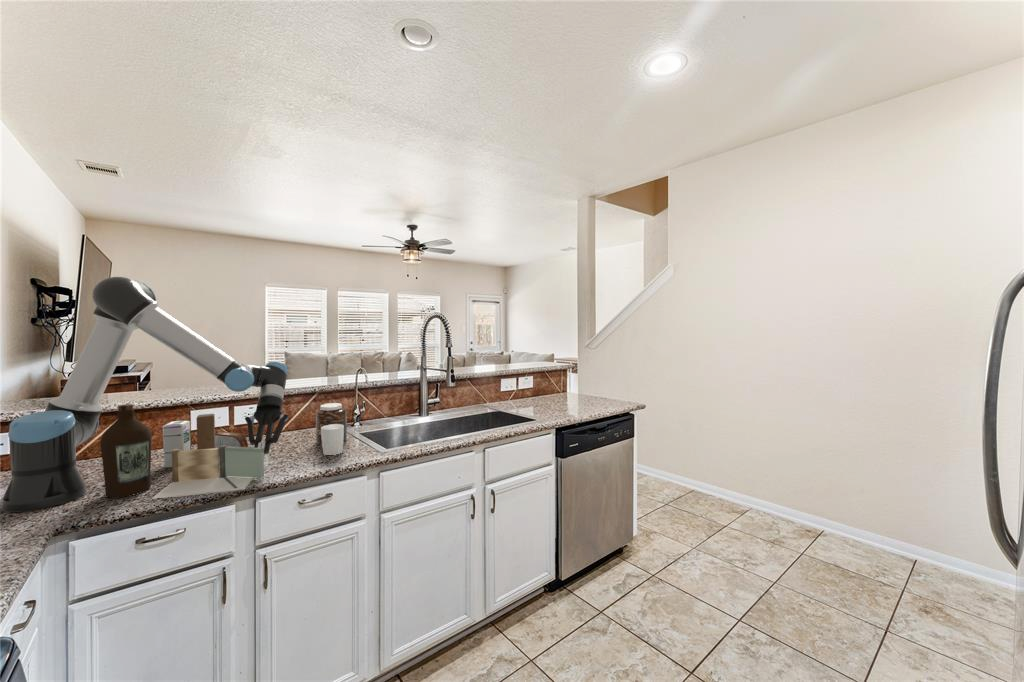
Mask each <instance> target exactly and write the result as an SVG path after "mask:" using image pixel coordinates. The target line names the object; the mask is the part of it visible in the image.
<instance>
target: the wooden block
mask: <svg viewBox="0 0 1024 682" xmlns="http://www.w3.org/2000/svg"><path fill="white" fill-rule="evenodd" d="M215 419H216V418H215V413H204V414H198V415H197V417H196V447H197V448H196V450H199V449H212V448H215V434H216V420H215Z"/></svg>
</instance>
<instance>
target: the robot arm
mask: <svg viewBox="0 0 1024 682" xmlns="http://www.w3.org/2000/svg"><path fill="white" fill-rule="evenodd" d="M91 294H92V300H93V303H94V305H96V306H95V309H94V310H93V313H92V314H93V316H94V319H96V322H95V324H94V327H93V328H92V329H91V330H92V331H91V333H90V334H89V336H88V339H87V341H86V342H85V345H84V347H83V349H82V351H81V353H80V354H79V357H78V358H77V361H76V362H75V365H74V366H73V369H72V371H71V373H70V376H69V377H68V379H67V381H66V383H65V386H64V387H63V389H62V391H61V394H60V395H59V396H57V397H55V398H52V399H50V400H49V401H48V404H47V406H46V408H45V410H44V411H38V412H33V413H31V414H25V415H22V416H19V417H17V418H15V419H14V420H12V421H11V422H10V423H9V428H8V429H9V430H8V434H7V436H8V438H9V455H10V456H9V457H10V458H9V459H10V470H11V471H10V472H11V473H10V474H11V478H10V481H9V483H8V486H7V488H6V491H5V493H4V495H3V498H2V500H1V507H2V508H1V511H3V512H7V513H8V512H9V513H18V512H19V513H22V512H29V511H35V510H41V509H45V508H50V507H54V506H59V505H61V504H65V503H68V502H71V501H74V500H77V499H78V498H80V497H83V495H84V496H85V494H86V493H87V483H86V481H85V479H84V477H83V475H82V474H81V473H80V470H79V468H78V467H77V455H76V454H77V452H76V448H77V447H78V446H80V445H82V444H84V443H86V442H87V441H89V440H90V439H91V438H92V437H93V436H94V434H96V432H97V430H98V428H99V423H100V421H99V420H100V419H99V418H100V416H101V414H102V411H103V406H102V405H101V404H100V401H101V399H102V397H103V395H104V393H105V391H106V389H107V386H108V385H109V382H110V380H111V379H112V376H113V373H114V372H115V370H116V368H117V365H118V363H119V361H120V359H121V358H122V355H123V353H124V351H125V349H126V346H127V345H128V342H129V340H130V338H131V337H132V333H134V331H136V330H138V329H139V330H141V331H143V332H145V334H148V335H149V336H151V337H152V338H153V339H155V340H157V341H158V342H160V343H161V344H163V345H164V346H166V347H168V348H169V349H171V350H172V351H174V352H175V353H176V354H178V355H180V356H181V357H183V358H185V359H186V360H188V361H189V362H191V363H192V364H193V365H196V366H197V367H199V368H200V369H202V370H204V371H205V372H207V373H208V374H209V375H211V376H212V377H214V378H215V379H217V380H219V381H220V382H221V383H223V384H224V385H225V386H226V387H227V388H228V390H231V391H232V392H237V393H238V392H239V393H241V392H245V391H246V390H248V389H250V388H251V387H252V388H253V387H255V388H260V390H259V394H258V400H257V404H256V409H255V411H254V413H253V414H252V416H245V417H244V420H245V422H246V424H247V431H248V433H247V434H248V435H247V436H248V441H249V443H250V445H251V446H254V448H264V451H263V452H264V459H265V458H266V457H265V456H266V455H268V454H269V453H270V448H271V445H272V444H277V443H278V441H279V439H280V436H281V433H282V432H283V429H284V427H285V425H286V424H287V423H288V422H289V420H290V419H289V415H288V414H283V411H282V408H283V401H284V395H285V391H286V383H287V378H288V366H287V365H286V364H285V363H283V362H282V361H276V360H275V361H270V362H267V363H266V364H265V366H264V365H263V366H262V365H254V364H253V365H252V364H247V363H246V364H245V363H240V362H238V361H237V360H235V358H233V357H231V356H230V355H228V354H227V353H225V352H224V351H222V350H221V349H220V348H218V347H216V346H215V345H214V344H212V343H211V342H209V341H208V340H206V339H205V338H203V337H202V336H201V335H199V334H197V333H196V332H195V331H193V330H192V329H190V328H189V327H188V326H186V325H184V324H183V323H181V322H180V321H179V320H177V319H175V318H174V317H172V315H170V314H168V313H166V312H165V311H164V310H162V309H161V308H160V307H159V304H158V302H157V297H156V294H155V292H154V291H153V290H152V289H151V288H150V287H149V286H148V285H147V284H145V283H144V282H141V281H139V280H135V279H132V278H128V277H125V276H112V277H107V278H104V279H102V280H101V281H99V282H97V284H96V285H95V286H94V288H93V290H92V293H91ZM255 420H256V421H257V424H258V426H257V431H256V435H255V430H254V423H255ZM277 421H278V424H277V426H276V427H275V423H277ZM266 425H267V428H266ZM274 427H275V430H274ZM265 428H266V433H265V439H264V442H263V436H264V431H265ZM273 431H274V432H273Z"/></svg>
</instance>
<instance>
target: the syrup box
mask: <svg viewBox="0 0 1024 682" xmlns="http://www.w3.org/2000/svg"><path fill="white" fill-rule="evenodd" d="M191 436H192V435H191V421H190V420H176V421H170V422H168V423H166V424H164V425H162V445H163V447H162V448H163V460H164V461H163V463H164V464H163V465H164V468H172V450H174V449H180V451H186V450H192V437H191Z"/></svg>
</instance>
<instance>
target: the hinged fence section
mask: <svg viewBox="0 0 1024 682" xmlns="http://www.w3.org/2000/svg"><path fill="white" fill-rule="evenodd" d="M263 451H264V448H254V447H252V446H251V447H249V446H248V447H230V446H228V447H225V470H226V476H231V477H250V478H253V479H262V478H264V477H265V466H264V465H265V464H264V463H265V458H264V452H263Z"/></svg>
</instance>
